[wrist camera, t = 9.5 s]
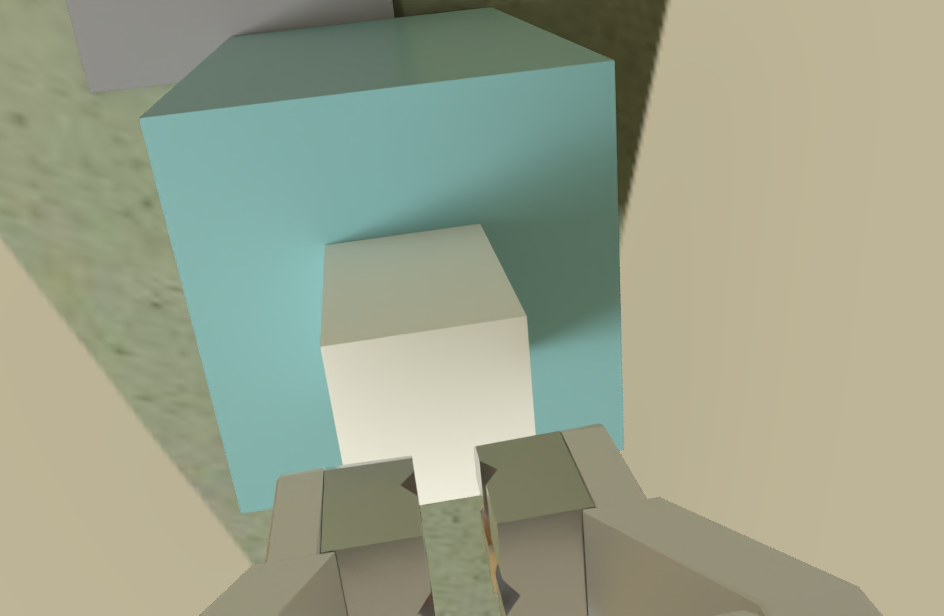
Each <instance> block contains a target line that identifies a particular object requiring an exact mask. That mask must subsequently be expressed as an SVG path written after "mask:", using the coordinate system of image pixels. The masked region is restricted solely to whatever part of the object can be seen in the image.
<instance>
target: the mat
mask: <svg viewBox="0 0 944 616" xmlns="http://www.w3.org/2000/svg"><path fill="white" fill-rule="evenodd" d="M66 4H67V8H68V12H69V15H70V19H71V23H72V27H73V31H74V34H75V38H76V42H77V46H78V50H79V53H80V57H81V61H82V65H83V68H84V72H85V76H86V80H87V84H88V87H89V91H90V93H94V92H102V91H111V90H120V89H129V88H138V87H146V86H155V85H164V84H173V83H179V82H180V81H181V80H182V79H183V78H185V77H186V76H187V75H188V74H189V73H190V72H191V71H192V70H193V69H195V68H196V67H197V66H198V65H199V64H200V63H201V62H202V61H204V60H205V59H206V58H207V57H208V56H209V55H210V54H211V53H212V52H214V51H215V50H216V49H217V48H218V47H219V46H220V45H221V44H223V43H224V42H225V41H226V40H227V39H228V38H229V37H232V36H241V35H250V34H258V33H267V32H276V31H285V30H293V29H302V28H311V27H320V26H329V25H337V24H346V23H355V22H364V21H372V20H381V19H390V18H395V17H394V9H393V1H392V0H66Z"/></svg>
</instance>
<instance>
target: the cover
mask: <svg viewBox="0 0 944 616" xmlns="http://www.w3.org/2000/svg"><path fill="white" fill-rule="evenodd" d="M139 120H140V124H141V128H142V132H143V136H144V140H145V144H146V147H147V151H148V155H149V159H150V163H151V167H152V171H153V175H154V178H155V182H156V186H157V190H158V194H159V198H160V202H161V205H162V209H163V213H164V217H165V221H166V225H167V229H168V233H169V236H170V240H171V244H172V248H173V252H174V256H175V260H176V264H177V267H178V271H179V275H180V279H181V283H182V287H183V291H184V294H185V298H186V302H187V306H188V310H189V314H190V318H191V322H192V325H193V329H194V333H195V337H196V341H197V345H198V349H199V353H200V356H201V360H202V364H203V368H204V372H205V376H206V380H207V383H208V387H209V391H210V395H211V399H212V403H213V407H214V411H215V414H216V418H217V422H218V426H219V430H220V434H221V438H222V442H223V445H224V449H225V453H226V457H227V461H228V465H229V469H230V472H231V476H232V480H233V484H234V488H235V492H236V496H237V500H238V503H239V507H240V511H241V514H242V513H248V512H254V511H260V510H266V509H272V508H273V503H274V496H275V489H276V482H277V479H278V478H279V477H280V476H281V474H287V473H292V472H298V471H304V470H309V469H315V468H321V467H323V468H324V469H326V467H332V466H339V465H346V464H353V463H361V462H368V461H375V460H382V459H389V458H396V457H404V456H411V455H412V458H413V464H414V471H415V478H416V485H417V491H418V498H419V505H424V504H430V503H436V502H441V501H447V500H453V499H459V498H465V497H471V496H477V495H480V491H479V487H478V483H477V479H476V469H475V460H474V447H475V446H480V445H485V444H490V443H496V442H501V441H507V440H512V439H518V438H523V437H528V436H534V435H539V434H545V433H550V432H555V431H561V430H566V429H571V428H576V427H581V426H586V425H591V424H596V423H599V424H602V425H604V426H605V428H606V430H607V431H608V433H609V435H610V436H611V438H612V440H613V442H614V443H615V445H616V447H617V448H618V450H619V451H620V450H624V428H623V391H622V389H623V388H622V347H621V346H622V345H621V304H620V262H619V220H618V178H617V136H616V95H615V60H613V59H610V58H608V57H606V56H603V55H601V54H599V53H596V52H594V51H592V50H589V49H587V48H585V47H583V46H580V45H578V44H576V43H573V42H571V41H569V40H566V39H564V38H562V37H559V36H557V35H555V34H552V33H550V32H548V31H546V30H543V29H541V28H539V27H536V26H534V25H532V24H529V23H527V22H525V21H522V20H520V19H518V18H515V17H513V16H511V15H509V14H506V13H504V12H502V11H499V10H497V9H495V8H492V7H487V8H478V9H469V10H460V11H451V12H443V13H434V14H425V15H416V16H408V17H399V18H390V19H381V20H372V21H364V22H355V23H346V24H337V25H329V26H320V27H311V28H302V29H293V30H285V31H276V32H267V33H258V34H250V35H241V36H232V37H229V38H228V39H227V40H226V41H225V42H224V43H223V44H221V45H220V46H219V47H218V48H217V49H216V50H215V51H214V52H212V53H211V54H210V55H209V56H208V57H207V58H206V59H205V60H204V61H202V62H201V63H200V64H199V65H198V66H197V67H196V68H195V69H193V70H192V71H191V72H190V73H189V74H188V75H187V76H186V77H185V78H183V79H182V80H181V81H180V82H179V83H178V84H177V85H176V86H175V87H173V88H172V89H171V90H170V91H169V92H168V93H167V94H166V95H164V96H163V97H162V98H161V99H160V100H159V101H158V102H157V103H156V104H154V105H153V106H152V107H151V108H150V109H149V110H148V111H147V112H145V113H144V114H143V115H142V116H141V117H140V118H139Z"/></svg>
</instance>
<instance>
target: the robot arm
mask: <svg viewBox="0 0 944 616" xmlns="http://www.w3.org/2000/svg"><path fill="white" fill-rule="evenodd" d="M474 460H475V469H476V479H477V483H478V487H479V491H480V495H481V499H482V503H483V508H482V509H481V511H480V514H481V521H482V529H483V536H484V543H485V550H486V557H487V563H488V567H489V572H490V577H491V581H492V586H493V590H494V593H495V594H497V595H498V602H499V610H500V616H883V615H882V614H881V613H880V612H879V611H878V609H877V608H876V607H875V606H874V605H873V603H872V602H871V601H870V600H869V598H868V597H867V596H866V595H865V594H864V593H863V592H862V590H861V589H860V588H859V587H858V586H856V585H854V584H851V583H849V582H847V581H845V580H842V579H840V578H837V577H836V576H834V575H831V574H829V573H827V572H825V571H822V570H820V569H818V568H816V567H813V566H811V565H809V564H807V563H805V562H802V561H800V560H798V559H796V558H794V557H791V556H789V555H787V554H785V553H782V552H780V551H778V550H776V549H774V548H771V547H769V546H767V545H765V544H762V543H760V542H758V541H755V540H754V539H751V538H749V537H747V536H745V535H742V534H740V533H738V532H736V531H733V530H731V529H729V528H727V527H725V526H722V525H720V524H718V523H716V522H714V521H711V520H709V519H707V518H705V517H702V516H700V515H698V514H696V513H694V512H691V511H689V510H687V509H685V508H682V507H680V506H678V505H676V504H674V503H671V502H669V501H667V500H665V499H663V498H660V497H657V498H651V499H647V498H646V496H645V495H644V493H643V491H642V489H641V488H640V486H639V485H638V483H637V481H636V479H635V478H634V476H633V474H632V472H631V471H630V469H629V467H628V466H627V464H626V462H625V461H624V459H623V457H622V455H621V454H620V452H619V450H618V448H617V447H616V445H615V443H614V442H613V440H612V438H611V436H610V435H609V433H608V431H607V430H606V428H605V426H604V425H602V424H599V423H596V424H591V425H586V426H581V427H576V428H571V429H566V430H561V431H555V432H550V433H545V434H539V435H534V436H528V437H523V438H518V439H512V440H507V441H501V442H496V443H490V444H485V445H480V446H475V447H474ZM199 616H435V611H434V604H433V596H432V589H431V582H430V574H429V567H428V559H427V553H426V546H425V539H424V532H423V526H422V518H421V512H420V505H419V498H418V491H417V485H416V478H415V471H414V464H413V458H412V455H411V456H404V457H396V458H389V459H382V460H375V461H368V462H361V463H353V464H346V465H339V466H332V467H326V469H324V468H323V467H321V468H315V469H309V470H304V471H298V472H292V473H287V474H281V476H280V477H279V478H278V479H277V482H276V489H275V496H274V503H273V510H272V517H271V524H270V531H269V538H268V545H267V552H266V559H265V563H264V564H258V565H253V566H251V567H250V568H249V569H248V570H247V571H246V572H245V573H244V574H242V575H241V576H240V577H239V578H238V579H237V580H236V581H235V582H234V583H233V584H232V585H231V586H230V587H229V588H228V589H227V590H226V591H225V592H224V593H223V594H222V595H220V596H219V598H217V599H216V600H215V601H214V602H213V603H212V604H211V605H210V606H209V607H208V608H207V609H206V610H205V611H204V612H203V613H202V614H200V615H199Z"/></svg>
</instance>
